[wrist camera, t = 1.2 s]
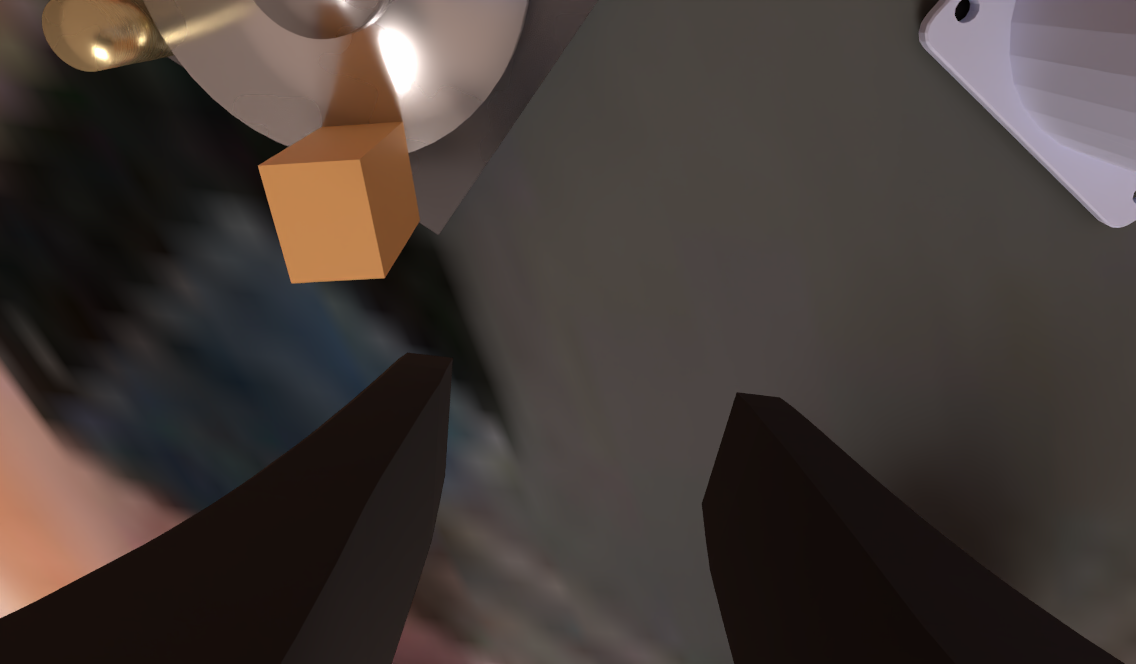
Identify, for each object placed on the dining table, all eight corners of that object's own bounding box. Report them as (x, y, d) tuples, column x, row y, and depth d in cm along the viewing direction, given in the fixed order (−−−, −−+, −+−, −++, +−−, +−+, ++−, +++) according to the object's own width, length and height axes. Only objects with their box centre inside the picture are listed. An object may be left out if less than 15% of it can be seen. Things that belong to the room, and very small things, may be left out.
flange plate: (88, -268, 11) (-142, -384, 7) (512, -304, 11) (483, -442, 7) (238, 217, 15) (136, 292, 11) (550, 198, 15) (544, 269, 11)
